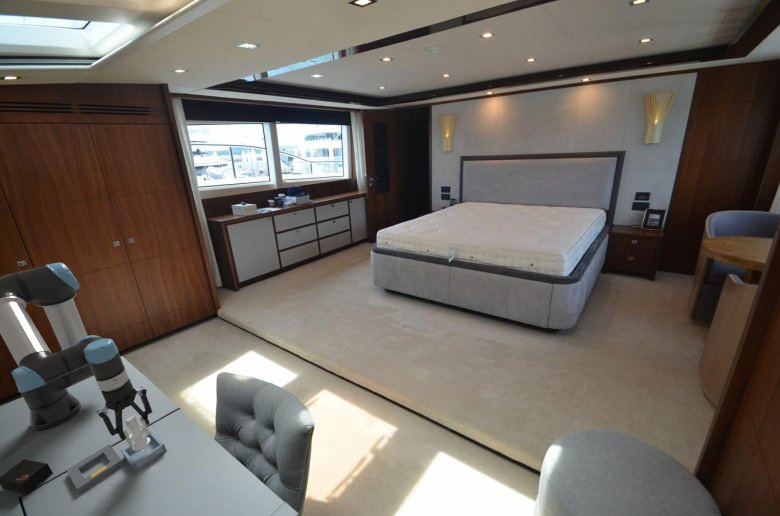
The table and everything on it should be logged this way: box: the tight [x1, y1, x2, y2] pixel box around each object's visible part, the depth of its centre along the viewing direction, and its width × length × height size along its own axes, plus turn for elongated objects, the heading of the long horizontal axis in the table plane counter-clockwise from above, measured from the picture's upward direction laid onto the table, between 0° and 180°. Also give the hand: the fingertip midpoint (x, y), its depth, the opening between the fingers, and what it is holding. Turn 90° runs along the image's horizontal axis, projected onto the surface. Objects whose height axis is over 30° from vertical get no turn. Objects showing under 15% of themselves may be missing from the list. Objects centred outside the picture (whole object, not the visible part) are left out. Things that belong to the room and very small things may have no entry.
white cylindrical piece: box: [125, 416, 150, 451], centre depth 116 cm, size 5×5×12 cm
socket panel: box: [66, 444, 124, 494], centre depth 114 cm, size 12×12×2 cm
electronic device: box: [0, 458, 54, 495], centre depth 111 cm, size 7×11×5 cm
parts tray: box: [121, 431, 167, 473], centre depth 119 cm, size 11×10×3 cm
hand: (138, 438), depth 117 cm, fingers closed on white cylindrical piece, 4 cm apart
